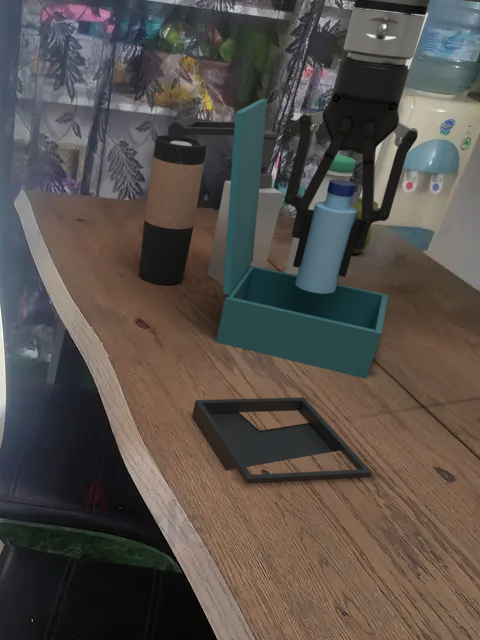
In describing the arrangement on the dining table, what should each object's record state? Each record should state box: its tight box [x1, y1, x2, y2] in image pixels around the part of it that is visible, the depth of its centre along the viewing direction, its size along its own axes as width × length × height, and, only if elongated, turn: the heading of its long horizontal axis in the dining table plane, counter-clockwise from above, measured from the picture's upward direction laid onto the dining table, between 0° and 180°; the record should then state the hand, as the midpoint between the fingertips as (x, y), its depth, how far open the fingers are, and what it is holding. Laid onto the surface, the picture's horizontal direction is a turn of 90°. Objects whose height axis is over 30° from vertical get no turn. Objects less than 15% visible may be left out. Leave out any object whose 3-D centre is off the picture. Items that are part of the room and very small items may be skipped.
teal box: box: [215, 265, 389, 379], centre depth 99 cm, size 20×16×7 cm
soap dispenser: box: [206, 129, 284, 287], centre depth 114 cm, size 6×9×22 cm
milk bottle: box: [284, 154, 357, 275], centre depth 114 cm, size 8×8×20 cm
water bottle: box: [295, 180, 358, 294], centre depth 93 cm, size 5×5×13 cm
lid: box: [167, 98, 268, 295], centre depth 95 cm, size 20×16×10 cm
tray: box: [192, 397, 373, 485], centre depth 77 cm, size 15×13×2 cm
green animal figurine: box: [352, 196, 379, 255], centre depth 137 cm, size 6×5×10 cm
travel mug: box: [138, 134, 208, 286], centre depth 112 cm, size 8×8×20 cm
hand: (319, 268), depth 95 cm, fingers closed on water bottle, 5 cm apart
